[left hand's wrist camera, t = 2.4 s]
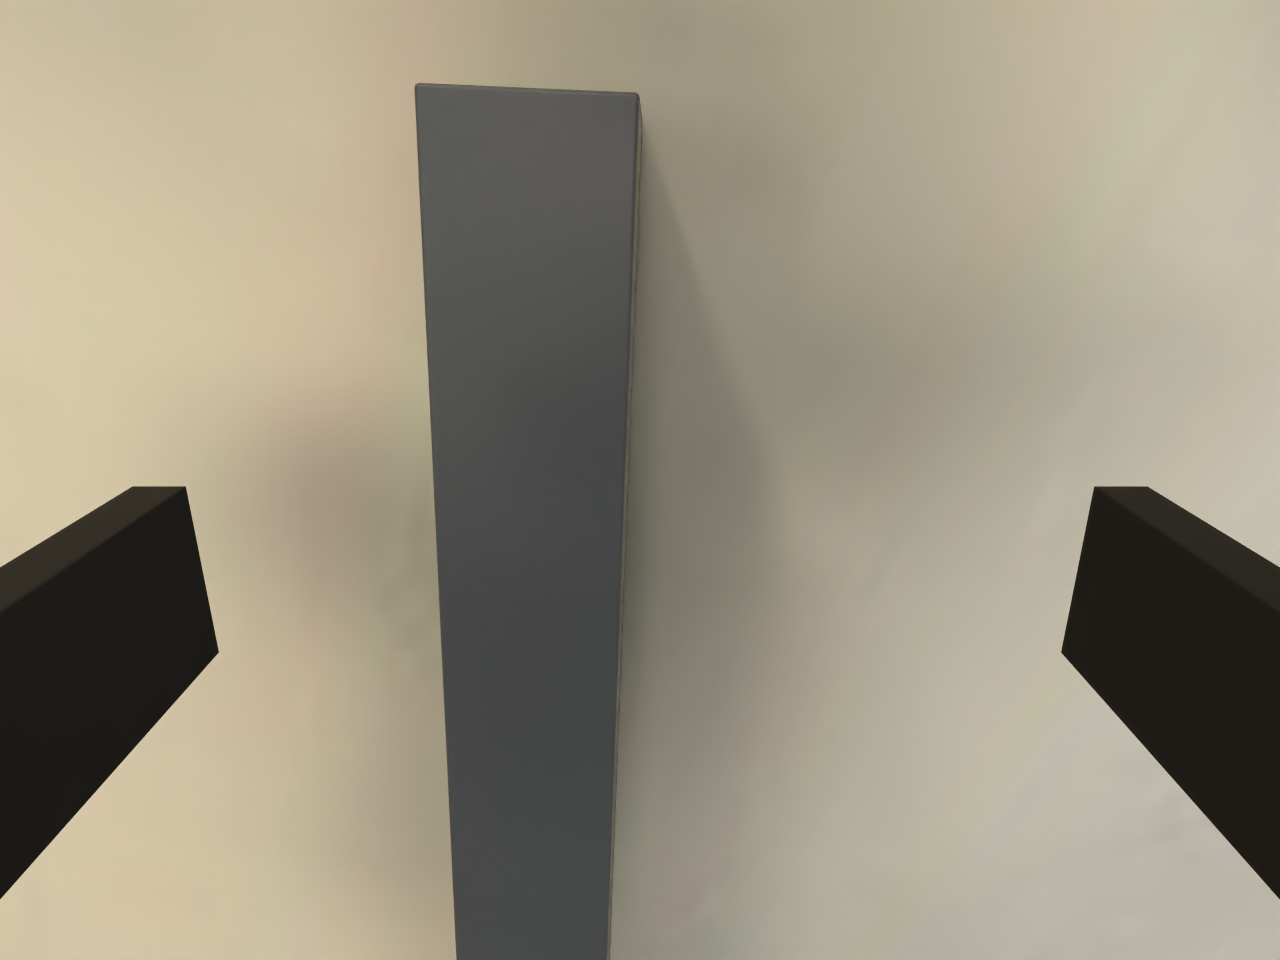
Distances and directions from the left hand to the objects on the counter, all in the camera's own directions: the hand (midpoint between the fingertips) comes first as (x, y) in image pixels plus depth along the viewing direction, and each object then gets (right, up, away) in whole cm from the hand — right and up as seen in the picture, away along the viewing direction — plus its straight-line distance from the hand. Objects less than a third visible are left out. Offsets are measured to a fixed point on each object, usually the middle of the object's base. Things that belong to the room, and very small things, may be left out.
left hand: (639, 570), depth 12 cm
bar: (-4, -25, +24) cm, 35 cm away
